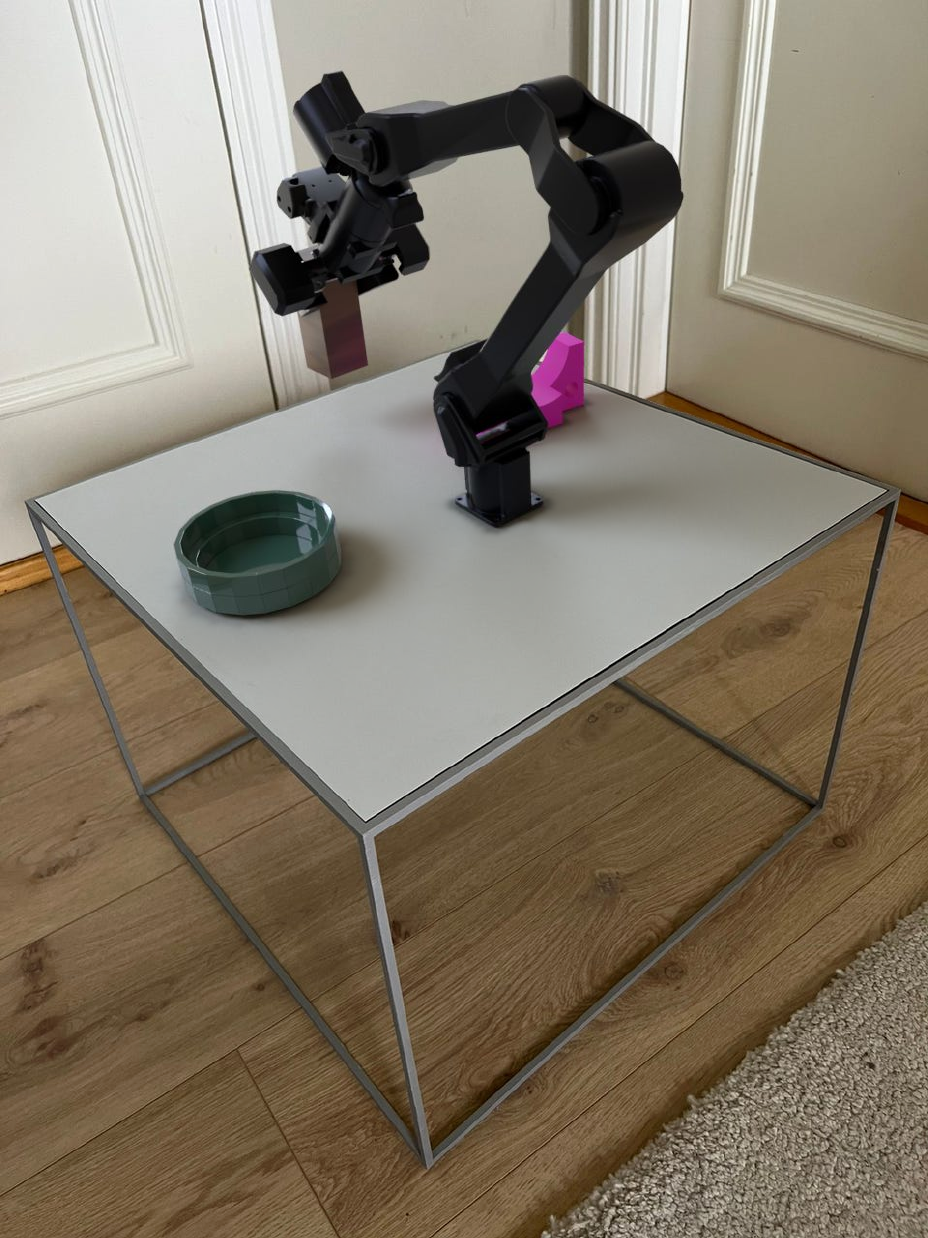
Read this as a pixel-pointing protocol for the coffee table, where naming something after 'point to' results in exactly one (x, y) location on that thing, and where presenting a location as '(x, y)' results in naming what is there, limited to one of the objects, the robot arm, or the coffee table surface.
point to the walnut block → (334, 329)
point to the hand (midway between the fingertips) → (321, 305)
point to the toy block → (559, 379)
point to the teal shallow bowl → (258, 552)
